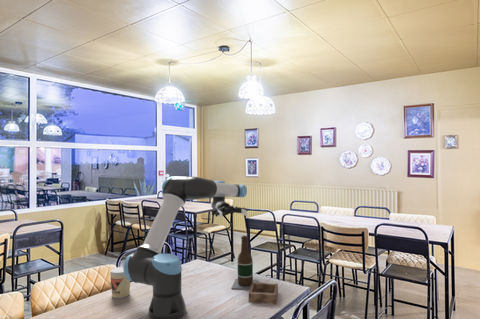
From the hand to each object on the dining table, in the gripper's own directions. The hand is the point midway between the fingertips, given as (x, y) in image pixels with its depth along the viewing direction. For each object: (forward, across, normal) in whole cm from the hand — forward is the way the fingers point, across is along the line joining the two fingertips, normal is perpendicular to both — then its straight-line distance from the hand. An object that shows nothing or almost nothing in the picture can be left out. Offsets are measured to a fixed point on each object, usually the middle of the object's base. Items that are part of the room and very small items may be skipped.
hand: (234, 213), depth 167 cm
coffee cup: (-2, +56, -35) cm, 67 cm away
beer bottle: (+8, -3, -35) cm, 36 cm away
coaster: (+8, -3, -35) cm, 36 cm away
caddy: (+24, -6, -35) cm, 43 cm away
